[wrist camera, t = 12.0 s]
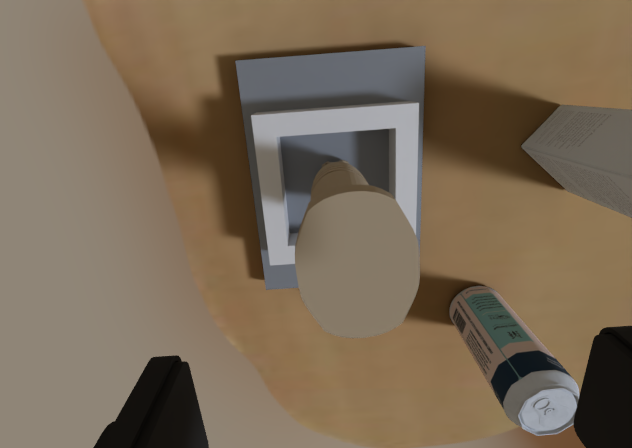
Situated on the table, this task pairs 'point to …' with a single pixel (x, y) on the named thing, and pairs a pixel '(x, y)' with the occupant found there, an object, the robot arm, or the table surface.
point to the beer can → (515, 362)
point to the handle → (355, 255)
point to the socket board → (329, 136)
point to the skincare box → (588, 153)
